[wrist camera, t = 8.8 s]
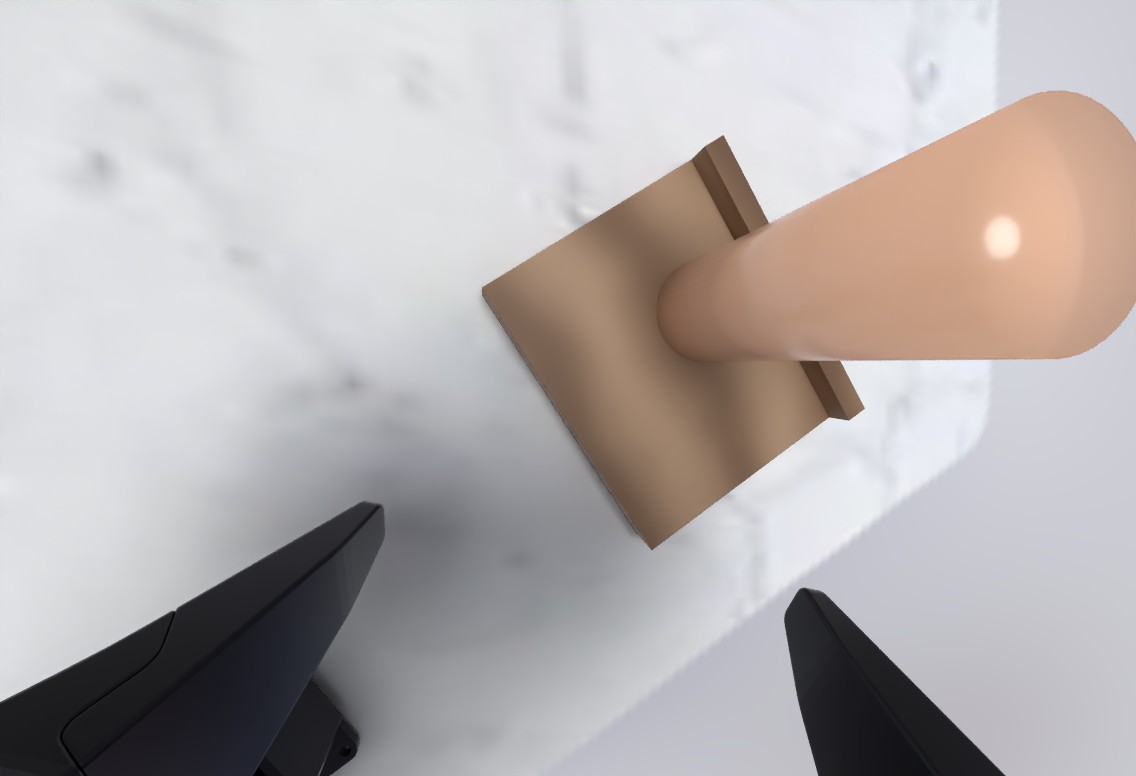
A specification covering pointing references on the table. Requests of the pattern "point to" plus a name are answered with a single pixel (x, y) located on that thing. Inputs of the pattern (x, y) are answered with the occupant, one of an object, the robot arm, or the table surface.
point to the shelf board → (659, 351)
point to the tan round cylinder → (935, 253)
